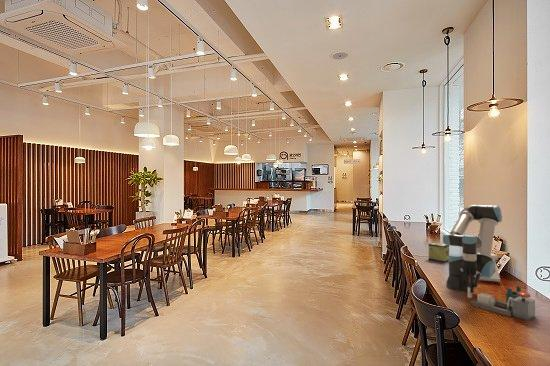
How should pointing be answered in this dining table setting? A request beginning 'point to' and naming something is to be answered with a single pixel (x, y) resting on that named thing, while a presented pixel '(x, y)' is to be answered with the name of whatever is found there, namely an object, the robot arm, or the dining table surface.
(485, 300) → the cube with cylindrical stub
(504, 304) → the guide rails
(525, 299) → the button station
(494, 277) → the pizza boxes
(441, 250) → the protein box
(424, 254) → the dining table surface
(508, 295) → the green irregular piece
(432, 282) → the dining table surface
